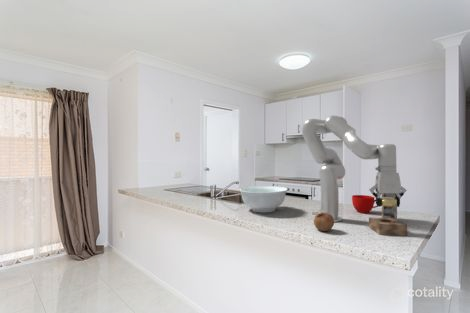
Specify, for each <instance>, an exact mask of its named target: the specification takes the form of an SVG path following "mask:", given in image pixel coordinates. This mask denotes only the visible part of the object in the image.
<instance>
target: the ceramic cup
mask: <svg viewBox="0 0 470 313" xmlns="http://www.w3.org/2000/svg"><path fill="white" fill-rule="evenodd" d="M351 202H352V206H353V207H354V209H355V211H357V213H360V214H369V213H370V212H371V211H372V210H373V209H375V208H379V206H377V205H375V204H376V199H375V196H373V195H372V196H371V195H363V194H353V195H352V196H351Z"/></svg>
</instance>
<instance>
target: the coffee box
mask: <svg viewBox="0 0 470 313" xmlns="http://www.w3.org/2000/svg"><path fill="white" fill-rule="evenodd" d="M381 197H391V198H396V196H395V195H394V194H382V195H381ZM381 218H394V219H397V220H398V207H393V216H385V215H383V206H381Z"/></svg>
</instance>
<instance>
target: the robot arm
mask: <svg viewBox="0 0 470 313" xmlns="http://www.w3.org/2000/svg"><path fill="white" fill-rule="evenodd" d="M331 133H332V134H334V136H336V137H338V138H339V139H340V141H342V142H343V144H344V145H345V146H346V148H347V149H348V150H349V151H350V152H352V153H353V154H354V155H356V157H358V158H360V159H361V160H377V161H378V162H377V163H378V165H377V166H376V167H375V171H377V172H376V175H375V176H376V177H375V185H373V186H372V187H370V188H369V190H368V191H369V192H370V193H371V195H372V196H373V197H374V198H375V200H376V201H375V205H376V206H379V207H381V208H382V206H381V198H380V197H382V194H394V195H395V196H396V199H397V208H399V207H400V206H401V199H402V197H403V196H404V195H405V193H406V192H407V191H408V190H407V189H406V188H405V187H403V186H402V185H401V184H402V182H401V177H400V174H399V172H397V145H395V144H394V143H384V144H370V143H366V142H365V140H364V141H363V140H362V139H361V138H360V137H359V136H358V135H357V132H356V129H355V128H354V127H352V126H351V125H350V124H348V121H347V120H346V118H345V117H343V116H339V115H331V116H328V117H327V118H326V119H319V118H309V119H307V120H305V122H304V124H303V125H302V129H301V134H302V137H303V139H304V141H305V143H306V145H307V146H308V149H309V152H310V154H311V155H312V158H313V160H314V161H315V162H316V164H320V165H323V166H321V167H320V168H319V170H318V176H319V177H318V178H319V182H320V209H319V210H318V211H312V213H311V214H312V216H314V217H315V216H316V215H318V214H319V213H329V214H330V215H332V217H333V219H334V223H338V222H341V221H342V217H341V216H339V183H338V180H342V179H344V177H345V176H346V168H345V166H344V164H343V162H342V160H341V159H340V156H339V154H338V153H337V152H336V150H334V149H332V148H330V147H328V148H327V147H326V146H325V144H324V142H323V141H322V139H321V137H320V135H321V134H324V135H326V134H331ZM318 134H319V135H318ZM379 207H378V208H379Z"/></svg>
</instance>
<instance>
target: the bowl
mask: <svg viewBox="0 0 470 313" xmlns="http://www.w3.org/2000/svg"><path fill="white" fill-rule="evenodd" d="M239 192H240V193H241V199H242V201H243V203H244V204H245V205H246V206H248V207H249V208H251V210H252V212H255V213H262V214H263V213H266V214H267V213H273V212H275V211H276V209H277V208H279V207H280V206H281V205H282V204H283V203H284V201H285V198H286V194H287V192H288V188H287V187H282V186H271V185H254V186H253V185H252V186H243V187H240V188H239Z"/></svg>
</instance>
